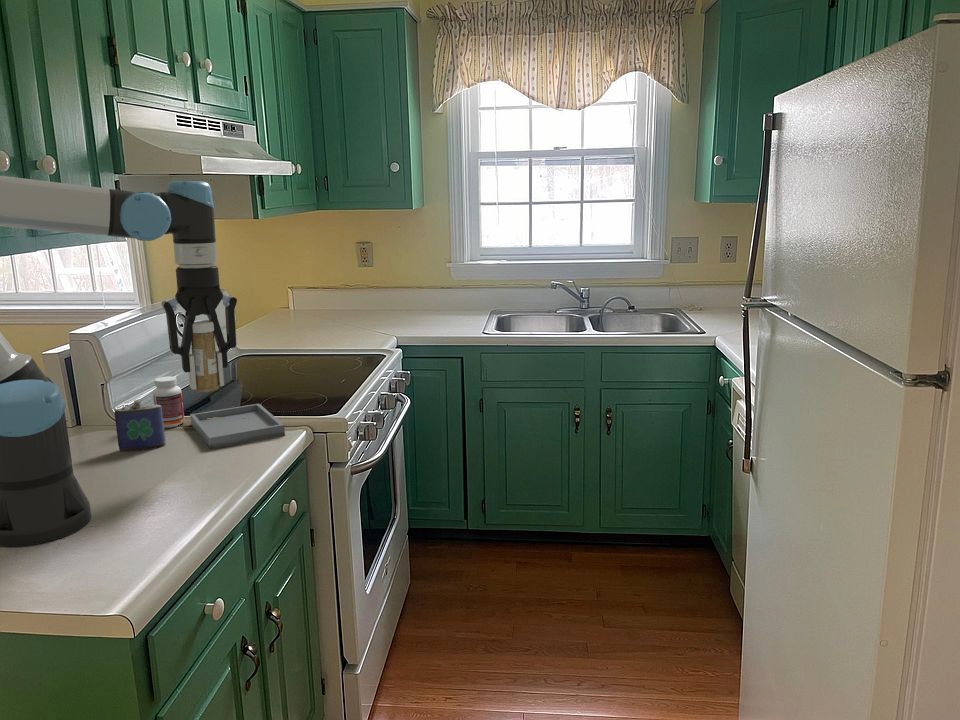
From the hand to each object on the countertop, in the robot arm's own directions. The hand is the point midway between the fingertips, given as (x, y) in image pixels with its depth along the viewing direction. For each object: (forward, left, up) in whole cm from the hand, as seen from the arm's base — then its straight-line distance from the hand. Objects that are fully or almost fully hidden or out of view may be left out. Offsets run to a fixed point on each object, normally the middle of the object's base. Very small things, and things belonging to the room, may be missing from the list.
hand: (206, 385), depth 147 cm
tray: (+9, +20, -16) cm, 27 cm away
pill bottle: (-3, +33, -16) cm, 37 cm away
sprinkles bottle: (0, 0, -1) cm, 1 cm away
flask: (-11, +19, -17) cm, 27 cm away
